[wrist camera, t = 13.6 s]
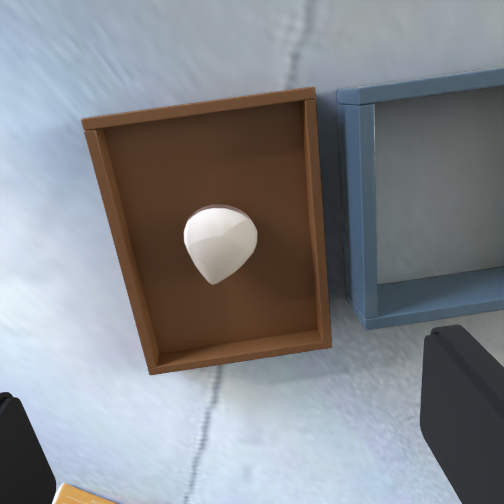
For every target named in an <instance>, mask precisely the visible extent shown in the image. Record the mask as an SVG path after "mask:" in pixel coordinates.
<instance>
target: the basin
mask: <svg viewBox="0 0 504 504" xmlns="http://www.w3.org/2000/svg"><path fill="white" fill-rule="evenodd" d="M503 85H504V66H501V67H494V68H486V69H479V70H472V71H464V72H457V73H450V74H443V75H435V76H428V77H421V78H414V79H406V80H399V81H392V82H385V83H377V84H370V85H363V86H355V87H348V88H341V89H337V91H336V93H337V103H338V104H337V117H338V138H339V159H340V180H341V201H342V222H343V243H344V264H345V285H346V300H347V302H348V303H349V305H350V306H351V308H352V310H353V311H354V313H355V314H356V316H357V318H358V319H359V321H360V323H361V324H362V326H363V327H364V329H365V330H372V329H379V328H386V327H392V326H399V325H405V324H412V323H419V322H425V321H432V320H438V319H445V318H452V317H458V316H465V315H471V314H478V313H485V312H491V311H498V310H504V266H503V267H497V268H490V269H483V270H477V271H470V272H463V273H456V274H450V275H443V276H436V277H430V278H423V279H416V280H409V281H403V282H396V283H389V284H383V285H377V237H376V172H375V107H374V104H373V103H381V102H388V101H395V100H402V99H410V98H417V97H424V96H431V95H438V94H446V93H453V92H460V91H467V90H474V89H482V88H489V87H496V86H503Z"/></svg>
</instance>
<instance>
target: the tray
mask: <svg viewBox="0 0 504 504" xmlns="http://www.w3.org/2000/svg"><path fill="white" fill-rule="evenodd" d="M315 98H316V93H315V87H306V88H299V89H292V90H285V91H277V92H270V93H263V94H255V95H248V96H241V97H234V98H226V99H219V100H212V101H204V102H197V103H190V104H183V105H175V106H168V107H161V108H153V109H146V110H139V111H132V112H124V113H117V114H110V115H102V116H95V117H89V118H83V119H81V122H82V126H83V129H84V130H85V131H84V133H85V137H86V140H87V144H88V148H89V152H90V155H91V159H92V163H93V166H94V170H95V174H96V178H97V181H98V185H99V189H100V192H101V196H102V200H103V204H104V207H105V211H106V215H107V218H108V222H109V226H110V230H111V233H112V237H113V241H114V244H115V248H116V252H117V256H118V259H119V263H120V267H121V270H122V274H123V278H124V282H125V285H126V289H127V293H128V296H129V300H130V304H131V308H132V311H133V315H134V319H135V322H136V326H137V330H138V334H139V337H140V341H141V345H142V348H143V352H144V356H145V360H146V363H147V367H148V371H149V375H156V374H162V373H169V372H175V371H182V370H188V369H195V368H202V367H208V366H215V365H221V364H228V363H234V362H241V361H248V360H254V359H261V358H267V357H274V356H280V355H287V354H294V353H300V352H307V351H313V350H320V349H327V348H332V338H331V322H330V307H329V292H328V276H327V261H326V245H325V230H324V215H323V199H322V184H321V168H320V153H319V138H318V122H317V107H316V99H315ZM213 204H218V205H229V206H232V207H235V208H238V209H240V210H241V211H242V212H244V213H245V214H247V215H248V216H249V218H250V219H251V220H252V222H253V224H254V226H255V228H256V230H257V244H256V247H255V250H254V252H253V254H252V255H251V256H250V257H249V258H248V259H247V260H246V262H245V263H244V264H243V265H242V266H241V267H240V268H239V269H238V270H237V271H235V272H234V273H233V274H231V275H230V276H228V277H227V278H225V279H223V280H222V281H220V282H219V283H217V284H213V285H212V284H210V283H209V282H208V281H207V280H206V279H205V277H204V276H203V275H202V274H201V273H200V271H199V270H198V269H197V267H196V266H195V264H194V262H193V260H192V258H191V256H190V254H189V253H188V250H187V248H186V245H185V243H184V230H185V227H186V223H187V220H188V218H189V217H190V216H192V215H193V214H194V213H195V212H196V211H197V210H199V209H201V208H202V207H205V206H209V205H213Z"/></svg>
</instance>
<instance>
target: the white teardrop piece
mask: <svg viewBox="0 0 504 504" xmlns="http://www.w3.org/2000/svg"><path fill="white" fill-rule="evenodd" d="M184 243H185V245H186V248H187V250H188V253H189V254H190V256H191V258H192V260H193V262H194V264H195V266H196V267H197V269H198V270H199V271H200V273H201V274H202V275H203V276H204V277H205V279H206V280H207V281H208V282H209V283H210V284H212V285H213V284H217V283H219V282H220V281H222V280H223V279H225V278H227V277H228V276H230V275H231V274H233V273H234V272H235V271H237V270H238V269H239V268H240V267H241V266H242V265H243V264H244V263H245V262H246V260H247V259H248V258H249V257H250V256H251V255H252V254H253V252H254V250H255V247H256V244H257V230H256V228H255V226H254V224H253V222H252V220H251V219H250V218H249V216H248V215H247V214H245V213H244V212H242V211H241V210H240V209H238V208H235V207H232V206H229V205H218V204H213V205H209V206H205V207H202V208H201V209H199V210H197V211H196V212H195V213H194V214H193V215H192V216H190V217H189V218H188V220H187V223H186V227H185V230H184Z"/></svg>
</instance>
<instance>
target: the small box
mask: <svg viewBox="0 0 504 504" xmlns="http://www.w3.org/2000/svg"><path fill="white" fill-rule="evenodd" d="M52 504H117V503H114V502H111V501H109V500H106V499H103V498H101V497H98V496H96V495H93V494H91V493H88V492H86V491H83V490H80V489H78V488H75V487H73V486H72V485H70V484H67V483H63V484H62V485H61V487H60V488H59V489H58V491H57V492H56V494H55V497H54V500H53V502H52Z"/></svg>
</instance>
